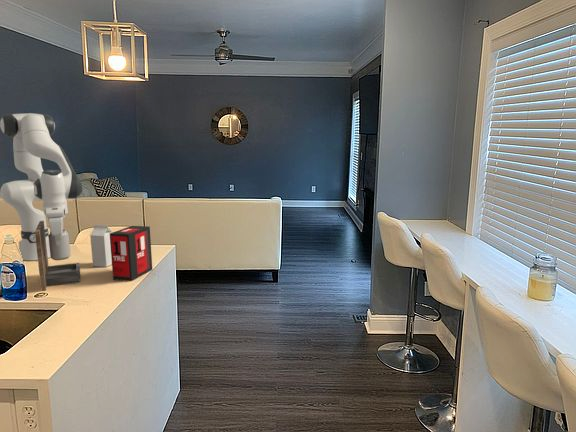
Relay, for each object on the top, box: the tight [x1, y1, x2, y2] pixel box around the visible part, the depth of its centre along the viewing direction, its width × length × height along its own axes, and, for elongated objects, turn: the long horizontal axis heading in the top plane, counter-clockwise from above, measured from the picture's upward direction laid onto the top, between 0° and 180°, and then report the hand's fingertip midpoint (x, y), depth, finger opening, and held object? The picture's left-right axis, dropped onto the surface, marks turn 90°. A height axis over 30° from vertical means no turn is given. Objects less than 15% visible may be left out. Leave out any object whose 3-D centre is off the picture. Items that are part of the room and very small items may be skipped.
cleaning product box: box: [110, 225, 153, 282], centre depth 199 cm, size 16×9×20 cm, turn 166°
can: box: [48, 228, 71, 261], centre depth 191 cm, size 8×8×12 cm
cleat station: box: [35, 221, 81, 292], centre depth 192 cm, size 24×14×24 cm, turn 24°
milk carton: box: [89, 224, 114, 268], centre depth 215 cm, size 7×7×19 cm
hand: (59, 242), depth 191 cm, fingers closed on can, 7 cm apart
